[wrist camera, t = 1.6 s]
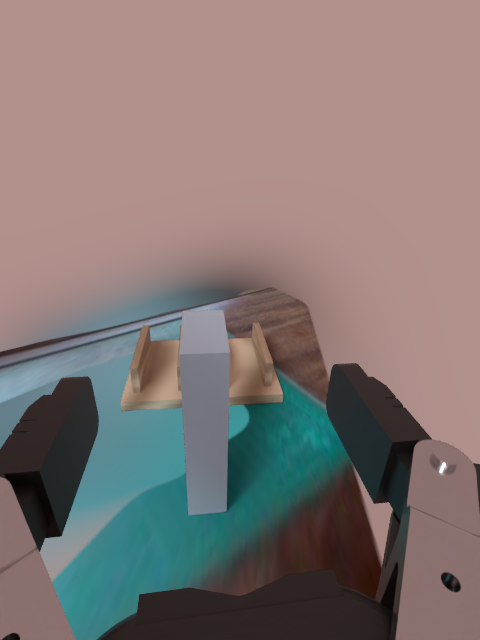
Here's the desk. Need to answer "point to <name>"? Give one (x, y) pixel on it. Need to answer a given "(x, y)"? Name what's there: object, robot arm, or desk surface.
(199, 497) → the grey tall block
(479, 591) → the robot arm
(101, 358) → the desk surface
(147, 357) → the rack
